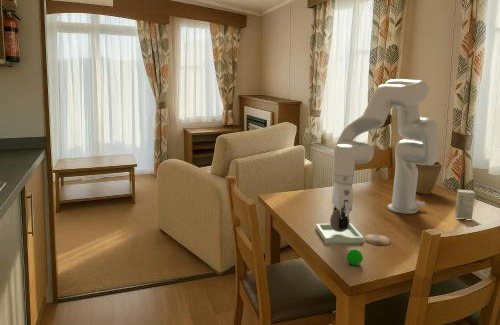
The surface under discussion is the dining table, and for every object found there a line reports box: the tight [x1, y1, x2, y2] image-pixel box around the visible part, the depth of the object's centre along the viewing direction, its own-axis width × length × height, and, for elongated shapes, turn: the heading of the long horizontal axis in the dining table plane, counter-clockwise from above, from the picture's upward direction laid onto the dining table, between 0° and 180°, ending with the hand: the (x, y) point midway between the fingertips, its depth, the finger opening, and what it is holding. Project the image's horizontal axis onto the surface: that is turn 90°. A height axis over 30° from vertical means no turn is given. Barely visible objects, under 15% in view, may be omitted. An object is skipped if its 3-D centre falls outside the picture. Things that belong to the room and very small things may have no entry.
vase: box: [329, 208, 350, 232], centre depth 153 cm, size 7×7×9 cm
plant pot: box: [415, 161, 443, 195], centre depth 211 cm, size 15×15×16 cm
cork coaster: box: [364, 233, 391, 247], centre depth 151 cm, size 9×9×1 cm
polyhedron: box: [346, 248, 364, 266], centre depth 131 cm, size 5×5×5 cm
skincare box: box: [454, 189, 476, 220], centre depth 174 cm, size 6×4×12 cm
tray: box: [315, 222, 365, 245], centre depth 154 cm, size 14×14×2 cm
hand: (339, 224), depth 154 cm, fingers closed on vase, 6 cm apart
